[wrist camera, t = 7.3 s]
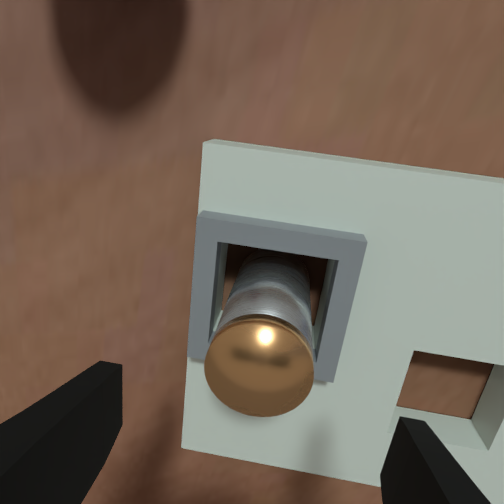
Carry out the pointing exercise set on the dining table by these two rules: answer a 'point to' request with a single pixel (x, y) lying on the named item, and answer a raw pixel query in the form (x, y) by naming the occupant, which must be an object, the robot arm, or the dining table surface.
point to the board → (355, 304)
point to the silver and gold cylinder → (264, 338)
